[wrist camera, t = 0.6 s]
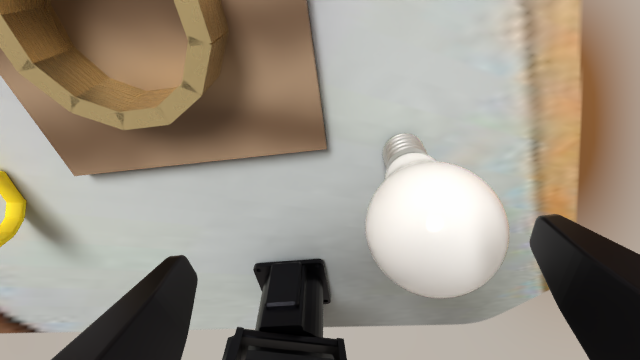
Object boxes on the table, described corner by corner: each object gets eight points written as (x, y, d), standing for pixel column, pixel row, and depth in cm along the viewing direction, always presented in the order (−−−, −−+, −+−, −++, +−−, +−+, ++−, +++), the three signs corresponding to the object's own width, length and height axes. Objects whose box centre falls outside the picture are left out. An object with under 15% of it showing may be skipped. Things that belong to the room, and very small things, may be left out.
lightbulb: (371, 193, 24) (398, 337, 15) (340, 124, 20) (350, 256, 11) (456, 166, 22) (543, 308, 13) (437, 85, 19) (537, 204, 10)
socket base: (326, 141, 21) (326, 149, 20) (83, 168, 23) (74, 176, 22) (263, -317, 11) (257, -340, 10) (-179, -206, 12) (-214, -218, 11)
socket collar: (247, 95, 18) (235, 116, 16) (96, 114, 19) (63, 137, 17) (183, -131, 13) (150, -151, 10) (-25, -89, 14) (-102, -99, 11)
